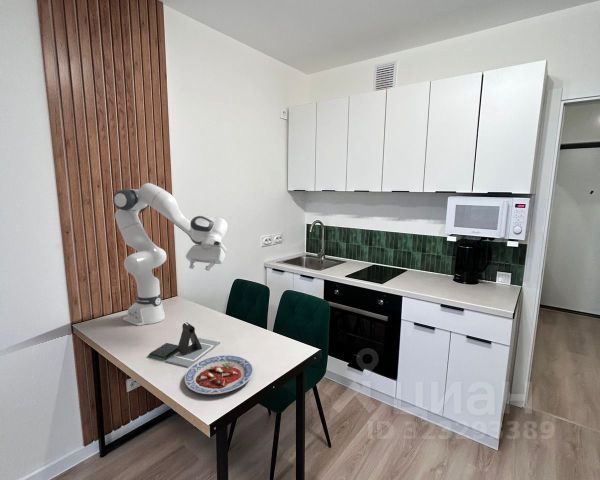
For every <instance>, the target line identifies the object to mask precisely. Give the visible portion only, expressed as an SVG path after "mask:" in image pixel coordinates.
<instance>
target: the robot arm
mask: <svg viewBox="0 0 600 480" xmlns="http://www.w3.org/2000/svg"><path fill="white" fill-rule="evenodd" d="M112 201H113V204H114V207H116V208H117V210H116V211H115V214H114V217H115V221H116V224H117V227H118V230H119V232H120V234H121V237H122V238H123V241H124V242H125V244H126V245H127V246H128V247H131V248H133V249H134V250H135V251H136V252H133V253H132V254H129V255H128V256H127V257H126V258H125V259H124V261H123V267H124V270H125V271H126V272H127V273H128V274H131V276H133V278H134V280H135V282H136V288H137V295H136V296H135V297H134V299H136V301H135V302H134V303H133V304H132V305H130V306H128V309H127V315H125V316H123V318H122V320H123V321H125V322H127V323H130V324H133V325H134V326H144V325H152V324H156V323H158V322H161V321H163V320H165V318H166V314H165V313H166V312H165V311H164V306H163V301H162V293H161V287H160V286H161V285H160V279H159V278H158V277H156V276H155V275H154V273H153V269H155V268H159V267H161V266H162V265H163V264H164V263H165V262H166V261H167V258H168V257H167V253H166V251H165V250H164V249H163V248H161V247H159V246H157V245H156V244H155V243H154V242H153V241H152V240H151V239H150V237H149V236H148V234H147V232H146V230H145V228H144V226H143V223H142V222H141V220H140V217H139V213H140V214H141V213H143V212H144V211H145V210H146V209H148V208H152V209H153V210H155V211H157V212H158V213H159V214H161V215H162V216H164V217H165V218H166V219H168V220H169V221H170V222H172V223H173V224H174V225H175V226H176V227H177V228H178V229H180V230H182V231H183V232H184V233H185V234H187V235H188V237H189V238H190V240H191V242H192V243H194V245H192V246H191V247H190V248H189V250H188V252H187V253H186V255H185V259H187V261H189V269H190V270H191V269H192V270H194V268H195V265H194V264H195V263H196V262H197V263H205V264H206V263H207V264H208V265H206V266H205V268H204V269H205V271H207V272H210V270H211V268H213V267H214V266H215V264H217V265H221V264H223V262H224V260H225V258H226V253H227V252H228V249H227V247H226V246H225V245H224V244H223V242H222V240H223V239H224V238H225V236H226V233H227V231H228V227H229V226H228V222H227V221H226V220H225V219H224V218H222V217H220V216H216V217H206V216H202V215H198V216H194V217H193V218H192V219H191V221H190V220H189V218H186V217H185V216H184V214H183V213H182V212H181V209H180V206H179V204H178V201H177V199H176V198H175V197H174V196H173V195H172V194H171V193H170V192H168V191H167V190H165V189H163V188H162V187H160V186H158V185H156V184H154V183H151V182H147V183H143V185H141V186H140V188H139V189H136V188H132V189H130V188H129V189H126V188H125V189H121V190H118V191H116V192H115V193H114V195H113V197H112Z"/></svg>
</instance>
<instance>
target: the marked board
mask: <svg viewBox="0 0 600 480" xmlns="http://www.w3.org/2000/svg"><path fill="white" fill-rule="evenodd" d="M197 338H198V340H199V342H200V344H201V347H202V349H200V350H198V351H195V352H192V353H189V354H187V355H184V356H183V355H182V354H181V353H180V352H179V351H178V352H177V353H175V354H174V355H172V356H171V357H169V358H168V359H167V360H165V361H164V362H165V363H167V364H171V365H172V364H173V365H177V366H180V367H181V366H182V367H185V368H189V369H190V368H191V367H192V366H193V365H195V364H196V363H197V362H199V360H201V359H202V358H203V357H204V356H206V355H207V354H208V353H210V352H211V351H212V350H213V349H215V348H216V347H217V346H219V345H220V344H221V342H220V341H215V340H212V339H211V340H210V339H207V338H206V339H205V338H202V337H197ZM190 345H192V342H191V343H189V346H190Z"/></svg>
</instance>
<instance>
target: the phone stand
mask: <svg viewBox="0 0 600 480" xmlns="http://www.w3.org/2000/svg"><path fill="white" fill-rule="evenodd" d="M185 322H186V321H185ZM185 322H184V323H183V324H181V325H182V331H181V335H180V338H179V342H178V344H177V345H178V348H177V351H178V352H180V353H181V354H182V355H183V356H184V355H187V354H189V353H192V352H195V351H198V350H200V349H202V347H201V344H200V342H199V340H198V338H199V337H198V336H197V334H196V328H195V326H194V325H192V324H190V323H189V322H186V323H185ZM190 341H191V343H192V345H190V346H189V344H190Z"/></svg>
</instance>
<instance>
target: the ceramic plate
mask: <svg viewBox="0 0 600 480" xmlns="http://www.w3.org/2000/svg"><path fill="white" fill-rule="evenodd" d="M253 373H254V367H253V364H252V362H250V361H249V360H247V359H246V358H243V357H241V356H238V355H237V356H236V355H228V354H227V355H217V356H212V357H208V358H205V359H203V360H200V361H198V362H196V363H194V364H193V365H191V366H190V367H189V369H188V370H187V372H186V373H185V375H184V383H185V385H186V386H187V388H188V389H190V390H191V391H193V392H195V393H198V394H203V395H219V394H220V395H221V394H225V393H228V392H232V391H234V390H237V389H239V388H241V387H242V386H244V385H245V384H247V382H248V381H250V379H251V378H252V376H253Z"/></svg>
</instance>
